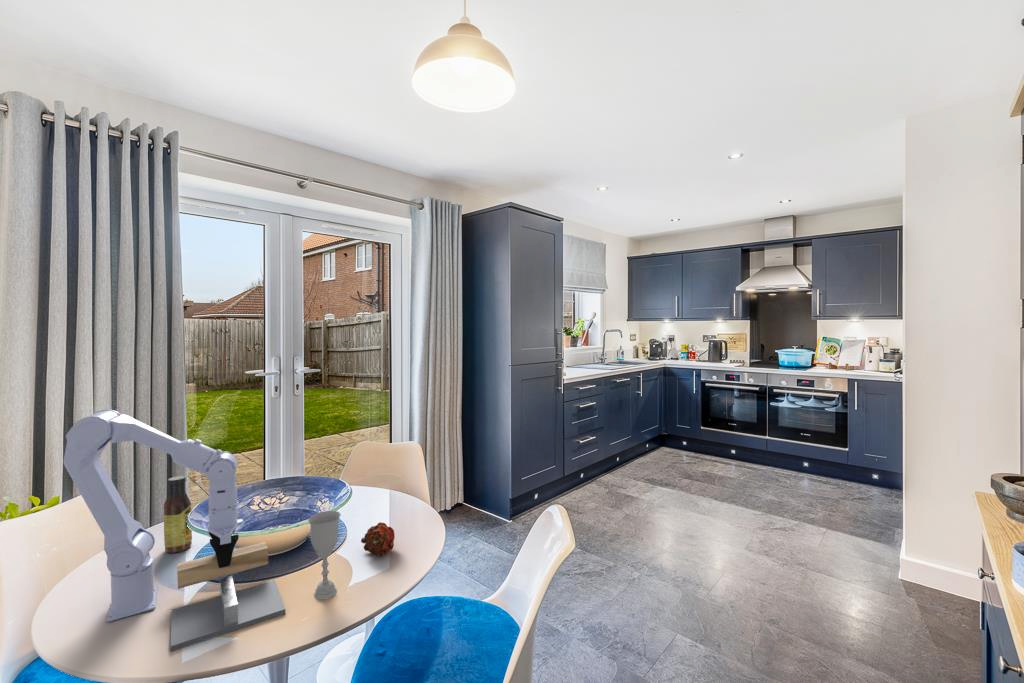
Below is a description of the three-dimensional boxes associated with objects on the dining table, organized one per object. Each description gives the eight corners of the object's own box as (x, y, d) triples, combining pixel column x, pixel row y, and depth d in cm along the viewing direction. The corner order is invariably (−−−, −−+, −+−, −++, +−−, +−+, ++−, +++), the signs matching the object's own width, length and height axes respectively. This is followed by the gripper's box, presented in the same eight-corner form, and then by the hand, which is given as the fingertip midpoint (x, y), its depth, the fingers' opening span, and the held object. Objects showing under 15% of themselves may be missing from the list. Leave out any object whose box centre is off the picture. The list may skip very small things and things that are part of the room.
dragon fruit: (379, 569, 120) (374, 555, 131) (405, 545, 124) (397, 533, 135) (359, 546, 119) (354, 534, 130) (385, 521, 122) (379, 511, 133)
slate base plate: (171, 613, 99) (171, 609, 99) (274, 583, 111) (274, 579, 111) (170, 651, 88) (170, 646, 88) (285, 613, 100) (285, 608, 100)
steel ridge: (220, 596, 104) (219, 579, 104) (232, 593, 105) (232, 576, 105) (224, 627, 93) (224, 608, 93) (238, 623, 95) (237, 604, 95)
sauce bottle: (192, 550, 127) (190, 479, 127) (163, 556, 124) (162, 483, 123) (192, 541, 133) (190, 473, 132) (165, 546, 129) (163, 477, 128)
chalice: (325, 605, 103) (324, 525, 102) (301, 598, 105) (300, 521, 104) (347, 587, 110) (347, 513, 109) (325, 581, 112) (324, 509, 111)
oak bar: (177, 580, 105) (177, 563, 105) (265, 557, 116) (265, 541, 116) (177, 588, 102) (177, 571, 102) (268, 563, 113) (267, 547, 113)
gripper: (246, 511, 105) (246, 570, 105) (239, 492, 117) (240, 545, 117) (209, 519, 101) (209, 580, 101) (206, 498, 113) (206, 553, 113)
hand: (223, 562), depth 109 cm, fingers closed on oak bar, 4 cm apart
